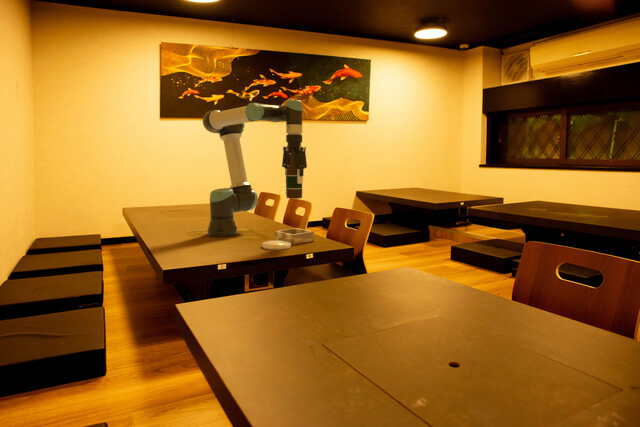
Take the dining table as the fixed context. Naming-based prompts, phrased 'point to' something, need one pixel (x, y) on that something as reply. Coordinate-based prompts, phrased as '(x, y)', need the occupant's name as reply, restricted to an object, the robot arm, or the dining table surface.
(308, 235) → the box
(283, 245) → the ceramic plate
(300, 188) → the beer bottle
